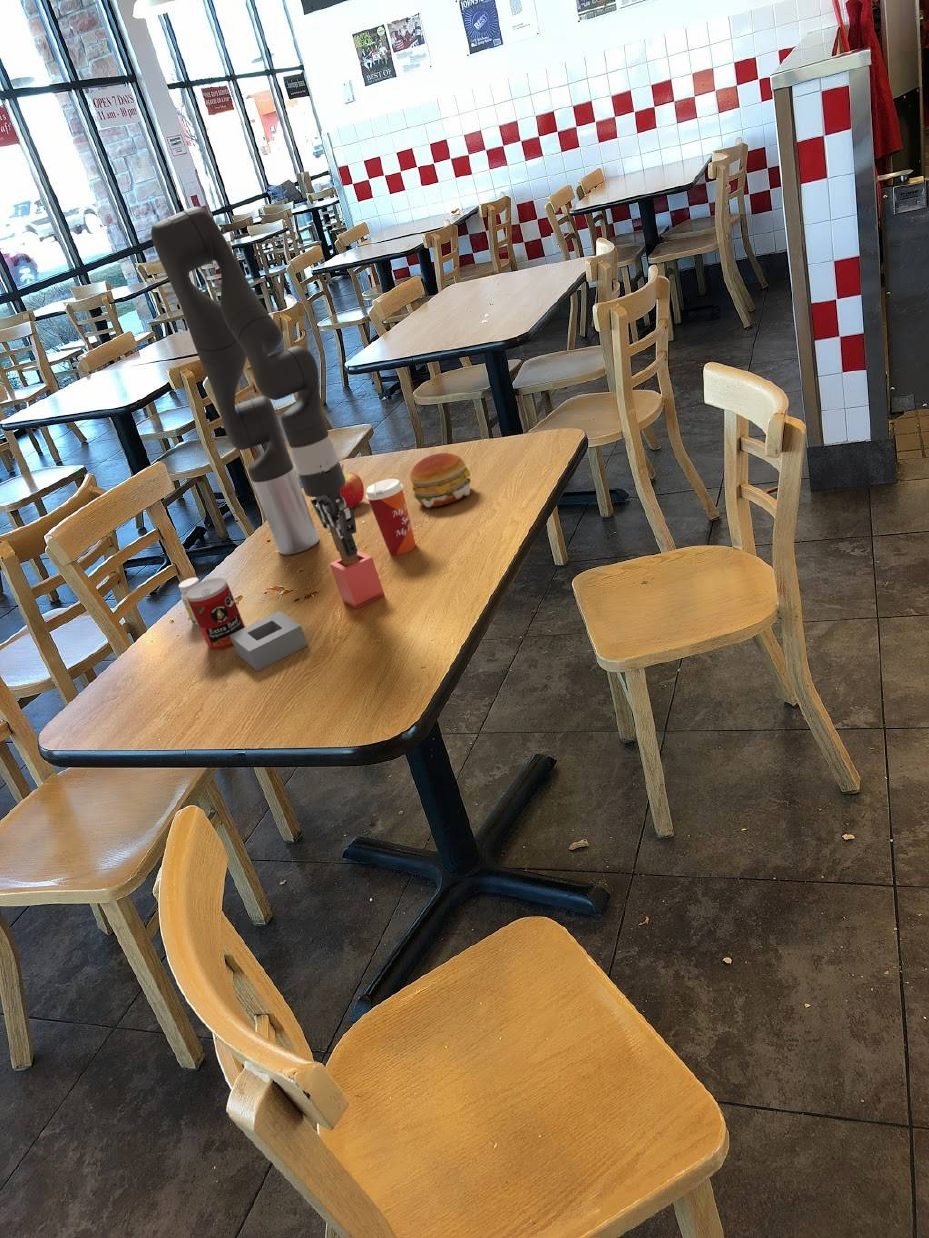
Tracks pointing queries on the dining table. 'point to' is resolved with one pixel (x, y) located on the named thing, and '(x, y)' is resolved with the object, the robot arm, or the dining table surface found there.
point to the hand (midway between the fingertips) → (347, 552)
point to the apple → (352, 489)
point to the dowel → (345, 559)
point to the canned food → (215, 612)
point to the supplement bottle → (184, 588)
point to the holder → (268, 640)
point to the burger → (440, 479)
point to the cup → (358, 581)
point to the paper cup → (392, 515)
